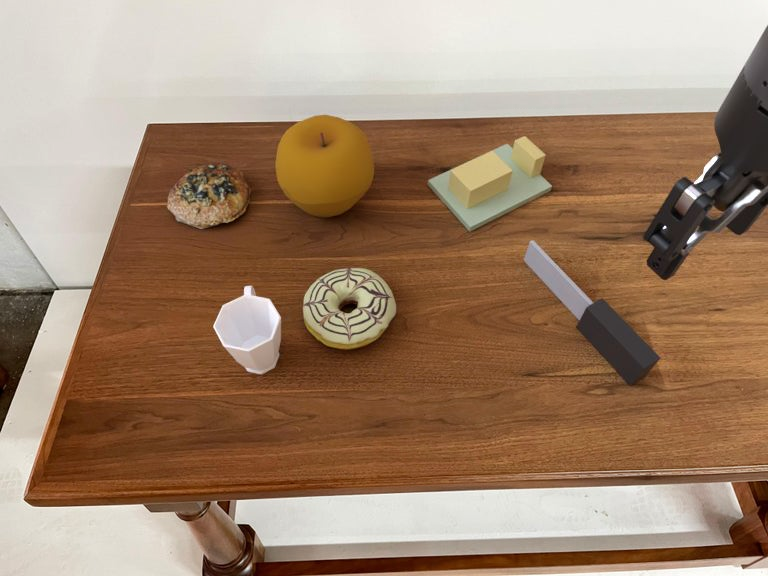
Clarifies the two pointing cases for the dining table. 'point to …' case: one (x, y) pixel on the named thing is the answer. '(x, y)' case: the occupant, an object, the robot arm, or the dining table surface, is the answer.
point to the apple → (324, 165)
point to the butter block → (480, 179)
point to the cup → (250, 331)
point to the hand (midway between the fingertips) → (695, 248)
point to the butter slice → (527, 156)
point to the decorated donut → (346, 289)
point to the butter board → (498, 205)
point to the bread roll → (209, 196)
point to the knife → (596, 320)
